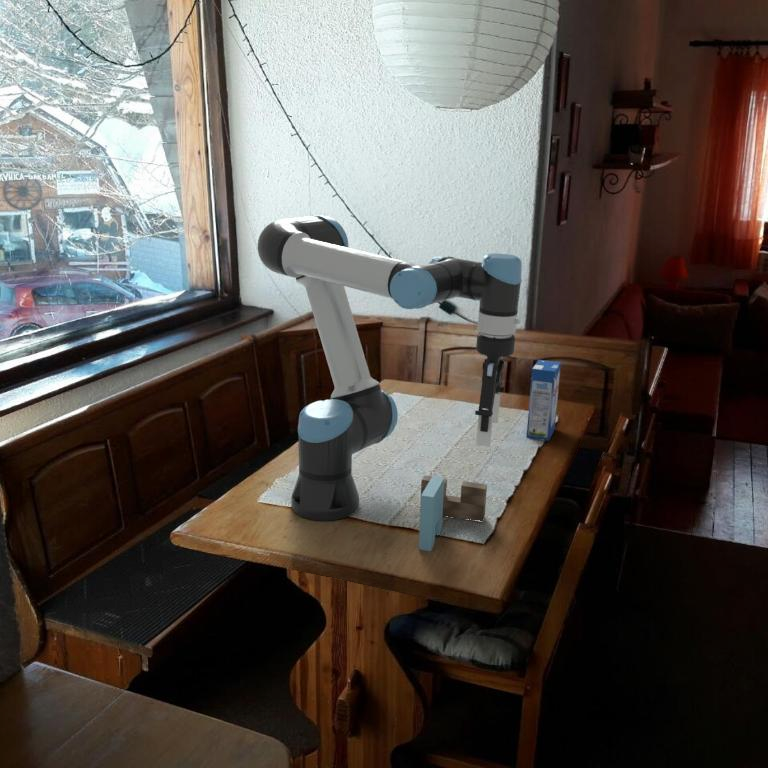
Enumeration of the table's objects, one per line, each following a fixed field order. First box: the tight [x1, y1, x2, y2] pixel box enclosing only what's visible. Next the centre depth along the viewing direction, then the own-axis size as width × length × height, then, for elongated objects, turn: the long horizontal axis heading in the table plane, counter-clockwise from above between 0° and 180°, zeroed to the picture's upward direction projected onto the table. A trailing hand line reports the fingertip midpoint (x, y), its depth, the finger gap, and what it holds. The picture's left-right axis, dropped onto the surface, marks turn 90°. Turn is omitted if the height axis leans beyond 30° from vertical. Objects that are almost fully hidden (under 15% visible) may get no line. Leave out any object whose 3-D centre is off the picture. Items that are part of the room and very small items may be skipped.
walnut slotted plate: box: [419, 475, 488, 522], centre depth 176 cm, size 14×2×8 cm, turn 73°
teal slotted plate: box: [418, 475, 446, 552], centre depth 165 cm, size 10×2×12 cm, turn 163°
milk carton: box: [526, 359, 562, 442], centre depth 223 cm, size 10×6×20 cm, turn 159°
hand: (487, 433), depth 165 cm, fingers open, 13 cm apart
